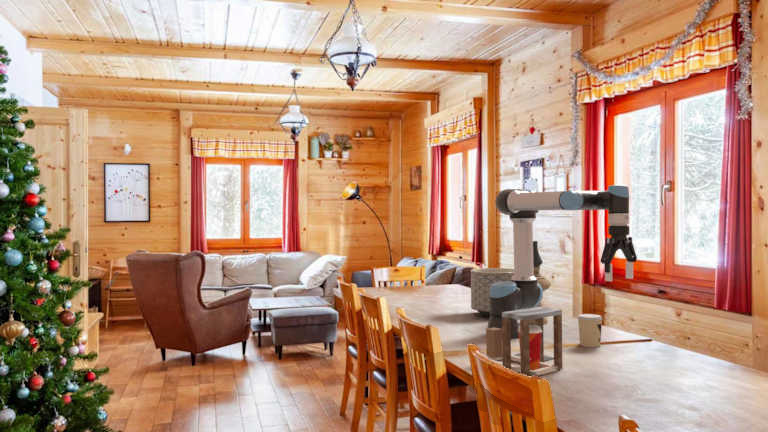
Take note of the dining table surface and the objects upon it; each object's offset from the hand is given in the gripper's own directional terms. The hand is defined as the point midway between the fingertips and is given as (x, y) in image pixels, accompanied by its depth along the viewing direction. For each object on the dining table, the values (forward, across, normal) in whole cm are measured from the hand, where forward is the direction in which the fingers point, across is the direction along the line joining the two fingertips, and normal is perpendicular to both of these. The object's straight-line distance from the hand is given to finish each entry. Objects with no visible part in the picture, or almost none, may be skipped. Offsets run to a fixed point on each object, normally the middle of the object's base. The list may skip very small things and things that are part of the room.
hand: (619, 279), depth 231 cm
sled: (+28, -49, +8) cm, 56 cm away
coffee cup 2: (+28, 0, +14) cm, 31 cm away
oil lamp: (+28, +21, +60) cm, 70 cm away
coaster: (+28, -36, +14) cm, 47 cm away
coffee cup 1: (+28, -48, +2) cm, 56 cm away
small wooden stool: (+28, -48, +1) cm, 56 cm away
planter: (+28, +21, +87) cm, 94 cm away
